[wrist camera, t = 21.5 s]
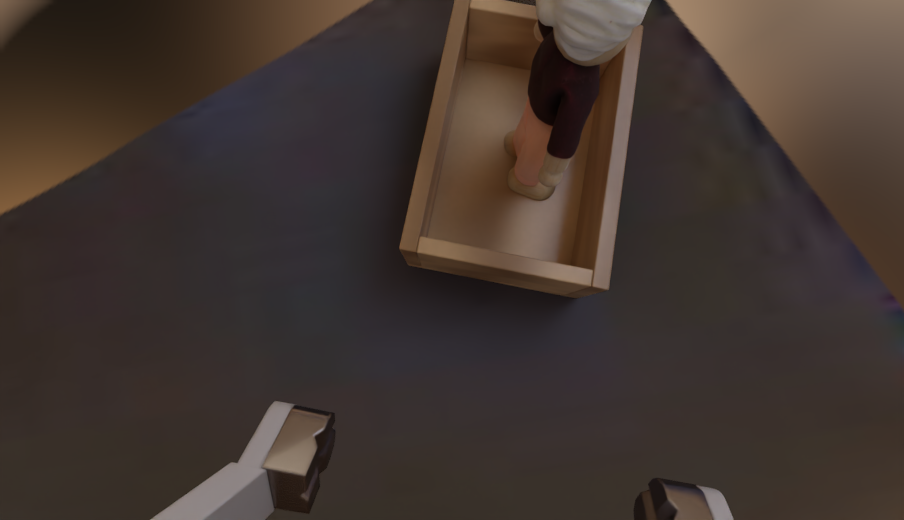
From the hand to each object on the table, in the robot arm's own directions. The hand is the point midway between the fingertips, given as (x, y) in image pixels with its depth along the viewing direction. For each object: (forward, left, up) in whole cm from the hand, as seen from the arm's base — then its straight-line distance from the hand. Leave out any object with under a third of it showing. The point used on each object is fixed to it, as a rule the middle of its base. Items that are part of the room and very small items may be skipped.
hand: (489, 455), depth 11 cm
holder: (0, +13, -12) cm, 17 cm away
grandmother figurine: (+1, +14, -11) cm, 18 cm away
